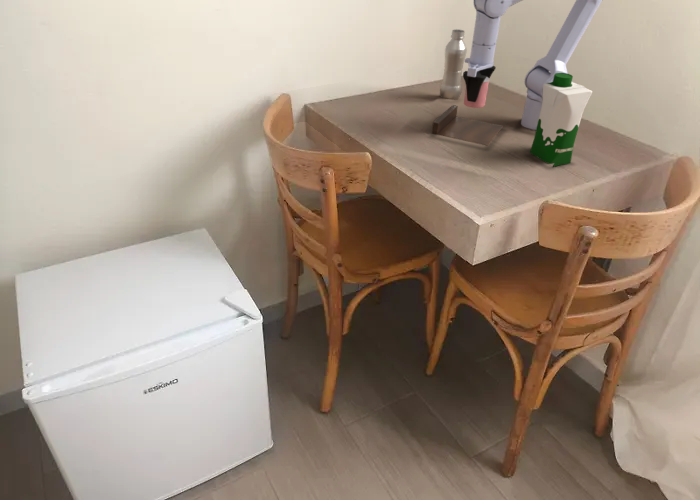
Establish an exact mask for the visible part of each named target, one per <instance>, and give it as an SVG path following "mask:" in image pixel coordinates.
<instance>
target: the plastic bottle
mask: <svg viewBox="0 0 700 500" xmlns="http://www.w3.org/2000/svg"><path fill="white" fill-rule="evenodd" d="M465 32H466V31H465V30H463V29H452V30H451V35H450V38H451V39H450V41H448V42H447V44H446V46H445V48H444V69H443V76H442V81H441V84H440V88H439V95H440V98H441V99H447V100H452V101H457V100H459V98H460V97H461V94H462V77H463V68H464V63H465V59H466V57H467V52H468V49H467V45H466V43H465V41H464V39H465V34H466V33H465Z"/></svg>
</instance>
